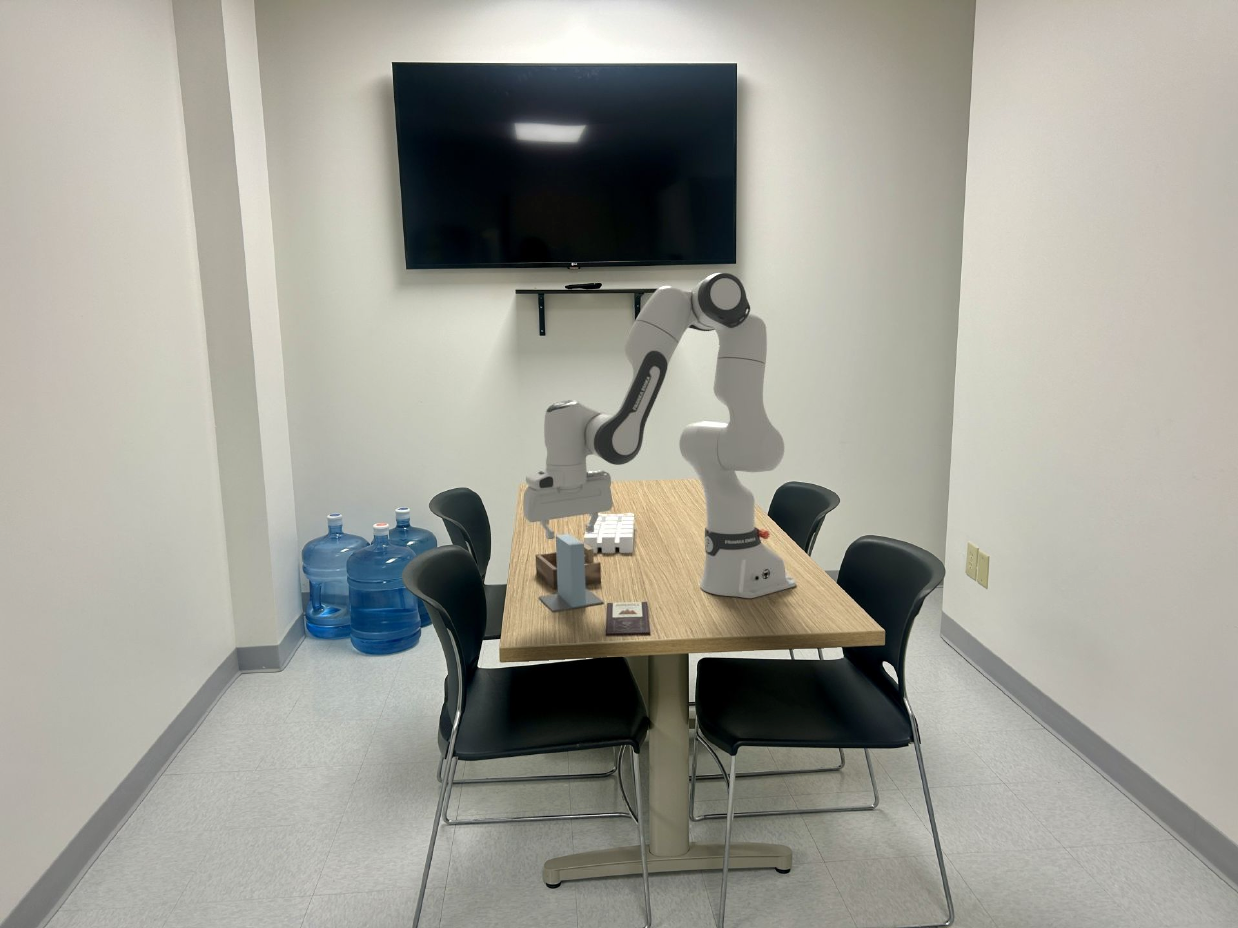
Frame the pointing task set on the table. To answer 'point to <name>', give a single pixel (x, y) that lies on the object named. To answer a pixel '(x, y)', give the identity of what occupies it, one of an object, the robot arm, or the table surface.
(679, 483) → the table surface
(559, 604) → the mat
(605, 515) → the organizer
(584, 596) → the light blue block
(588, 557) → the offcuts
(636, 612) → the chocolate bar
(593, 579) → the rack
